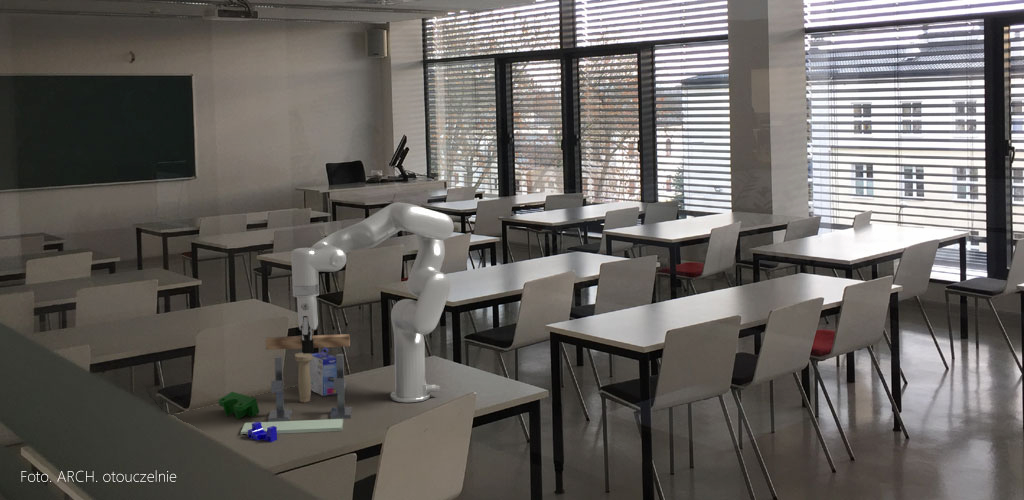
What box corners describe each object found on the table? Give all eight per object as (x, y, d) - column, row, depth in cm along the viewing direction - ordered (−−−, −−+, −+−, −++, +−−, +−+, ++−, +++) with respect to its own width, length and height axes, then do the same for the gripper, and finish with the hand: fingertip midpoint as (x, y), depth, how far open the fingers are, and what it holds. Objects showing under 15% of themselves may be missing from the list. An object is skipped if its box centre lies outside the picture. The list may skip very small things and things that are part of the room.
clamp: (227, 428, 285) (213, 402, 285) (243, 418, 290) (229, 392, 289) (247, 421, 277) (232, 394, 276) (263, 411, 282) (248, 385, 281)
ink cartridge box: (338, 393, 306) (337, 350, 304) (323, 396, 302) (321, 352, 300) (324, 387, 313) (323, 344, 311) (309, 390, 310) (307, 347, 308)
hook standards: (351, 410, 288) (350, 352, 286) (350, 419, 279) (348, 360, 277) (271, 413, 285) (269, 355, 283) (267, 422, 276) (265, 362, 274)
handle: (303, 405, 293) (301, 358, 291) (293, 400, 298) (291, 354, 296) (317, 402, 296) (315, 355, 294) (307, 397, 301) (305, 351, 299)
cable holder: (248, 438, 263) (247, 424, 263) (258, 435, 266) (257, 421, 265) (267, 444, 259) (266, 430, 258) (277, 440, 261) (276, 426, 261)
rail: (349, 344, 281) (349, 334, 281) (349, 346, 278) (349, 336, 278) (267, 347, 278) (266, 337, 278) (266, 349, 275) (265, 339, 275)
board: (343, 422, 277) (343, 418, 277) (341, 430, 269) (341, 427, 269) (245, 426, 273) (245, 422, 273) (240, 435, 265) (240, 431, 265)
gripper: (316, 295, 268) (319, 358, 271) (321, 284, 284) (323, 344, 287) (289, 296, 267) (292, 359, 270) (295, 285, 283) (298, 345, 286)
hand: (308, 351), depth 278 cm, fingers closed on rail, 3 cm apart
